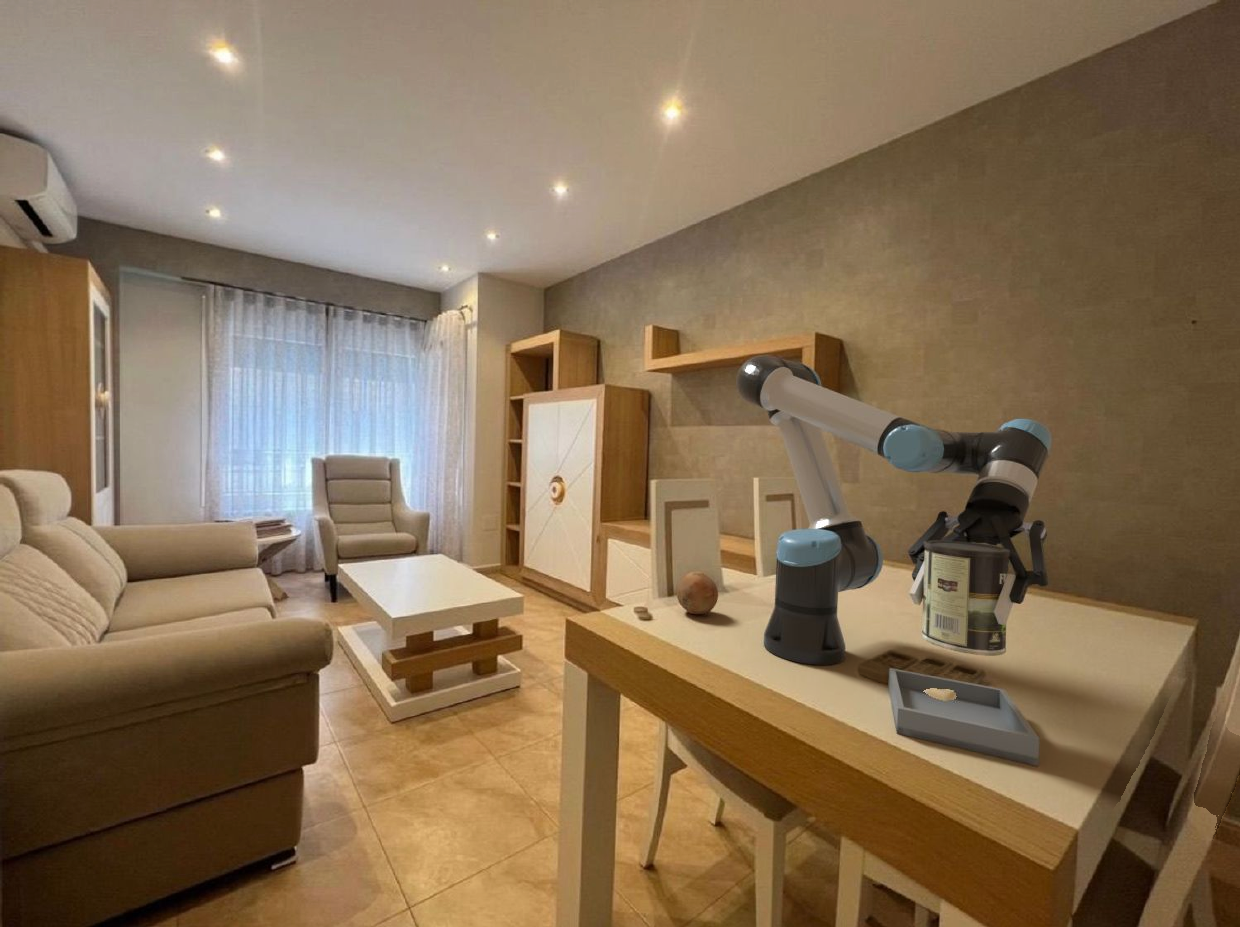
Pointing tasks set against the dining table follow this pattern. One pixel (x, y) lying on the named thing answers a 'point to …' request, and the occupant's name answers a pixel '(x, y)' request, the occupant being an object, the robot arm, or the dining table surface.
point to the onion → (697, 593)
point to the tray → (962, 716)
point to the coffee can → (964, 596)
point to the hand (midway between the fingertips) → (954, 608)
